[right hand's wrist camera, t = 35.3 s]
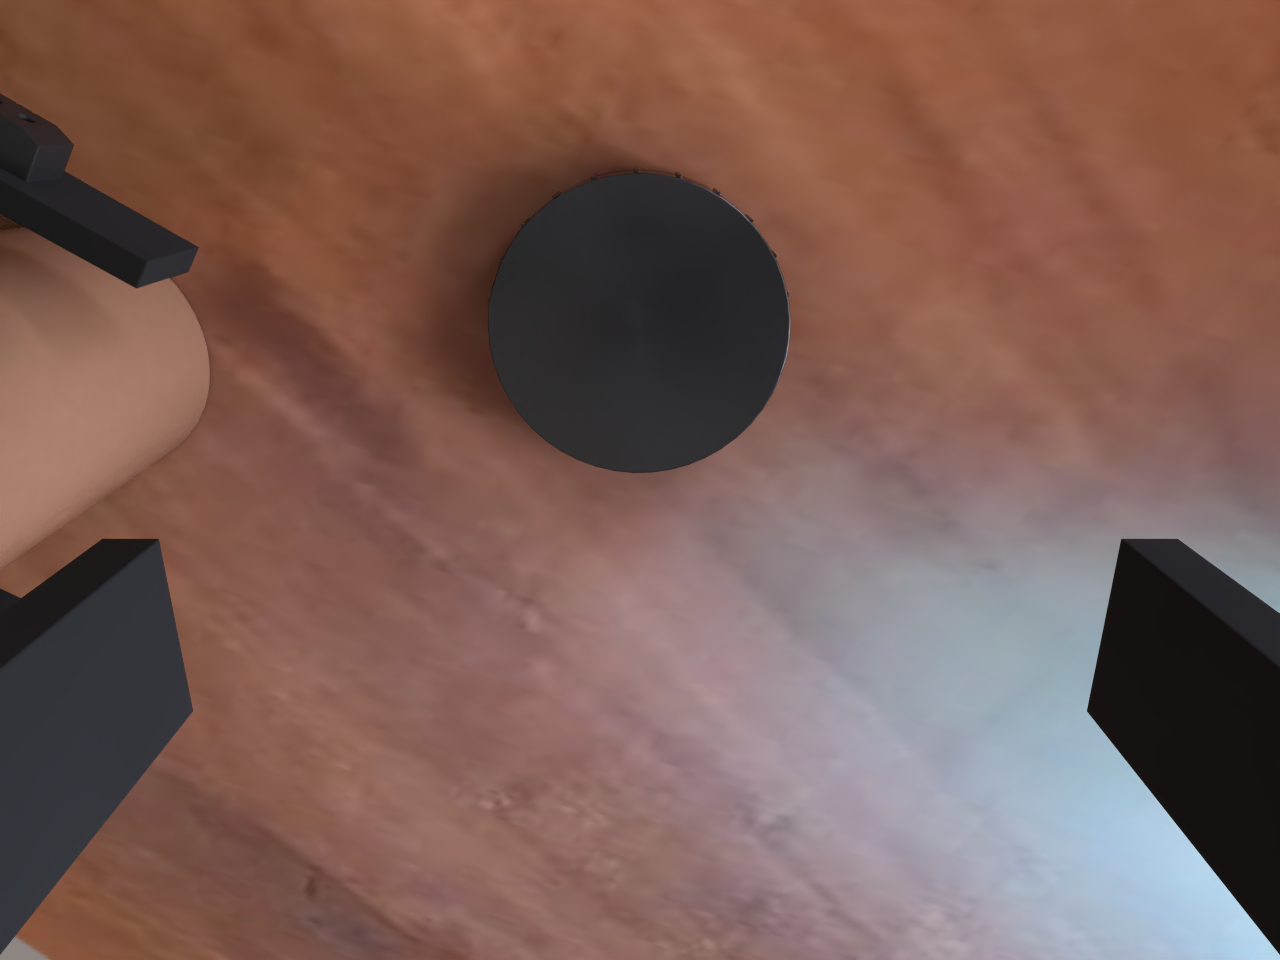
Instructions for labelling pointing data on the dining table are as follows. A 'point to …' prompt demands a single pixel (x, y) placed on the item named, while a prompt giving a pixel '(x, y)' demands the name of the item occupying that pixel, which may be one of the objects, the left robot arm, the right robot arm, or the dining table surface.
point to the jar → (85, 384)
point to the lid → (639, 321)
